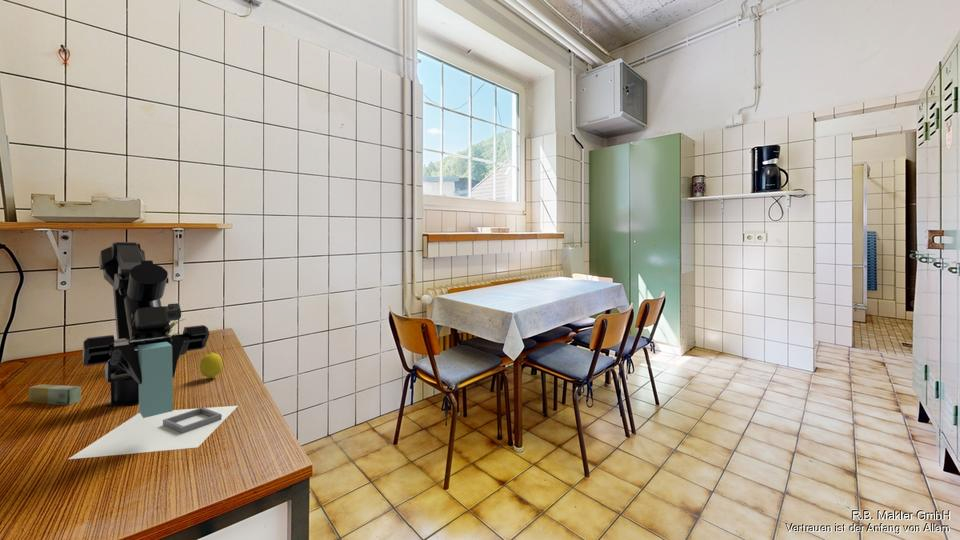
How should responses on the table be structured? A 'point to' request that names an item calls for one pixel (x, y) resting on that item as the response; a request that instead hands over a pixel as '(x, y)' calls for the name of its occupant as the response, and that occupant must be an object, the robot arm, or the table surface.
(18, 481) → the table surface
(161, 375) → the post
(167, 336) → the robot arm
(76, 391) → the medication box
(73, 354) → the table surface
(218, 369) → the lemon
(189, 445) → the baseplate
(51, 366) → the table surface
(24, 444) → the table surface
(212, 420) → the socket
